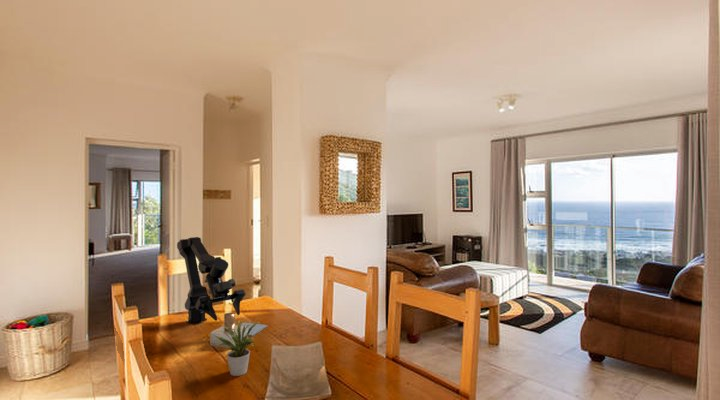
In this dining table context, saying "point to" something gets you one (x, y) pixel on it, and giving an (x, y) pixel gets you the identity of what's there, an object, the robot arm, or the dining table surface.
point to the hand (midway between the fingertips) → (228, 317)
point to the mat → (254, 328)
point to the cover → (226, 331)
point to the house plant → (238, 350)
